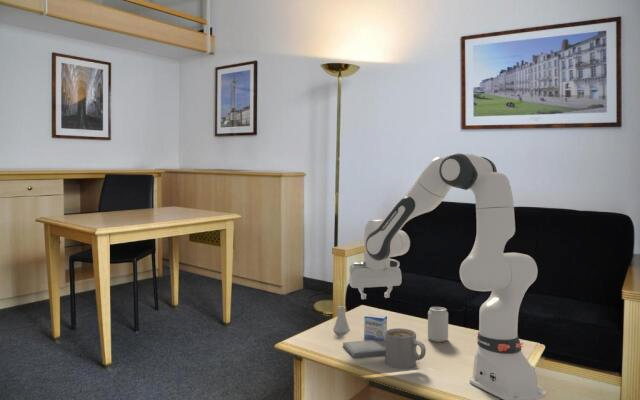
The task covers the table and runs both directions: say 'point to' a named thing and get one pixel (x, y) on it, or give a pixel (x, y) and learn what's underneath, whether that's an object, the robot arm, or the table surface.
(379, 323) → the medicine box
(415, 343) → the coffee mug
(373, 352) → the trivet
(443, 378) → the table surface
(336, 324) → the flask
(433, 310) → the can
